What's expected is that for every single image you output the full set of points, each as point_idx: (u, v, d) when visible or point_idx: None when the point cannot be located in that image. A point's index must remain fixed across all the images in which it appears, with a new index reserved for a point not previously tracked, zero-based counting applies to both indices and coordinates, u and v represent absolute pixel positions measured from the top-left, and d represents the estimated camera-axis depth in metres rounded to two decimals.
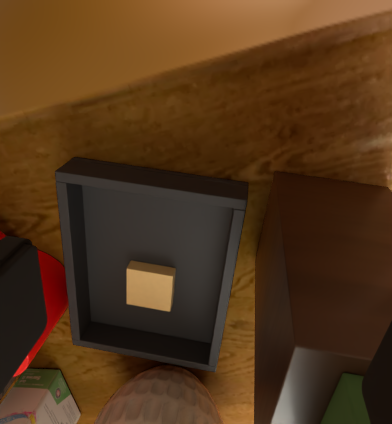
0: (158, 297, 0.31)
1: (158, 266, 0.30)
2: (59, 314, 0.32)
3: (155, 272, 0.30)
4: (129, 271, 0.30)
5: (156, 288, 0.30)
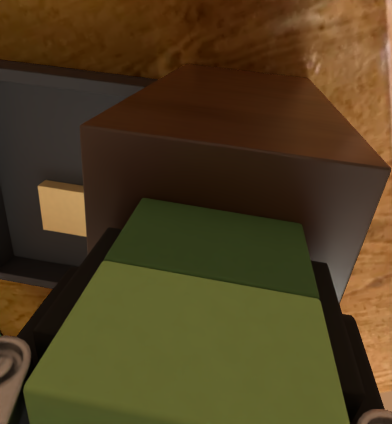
0: (75, 220, 0.28)
1: (74, 185, 0.28)
2: None
3: (68, 190, 0.27)
4: (40, 189, 0.27)
5: (71, 209, 0.28)
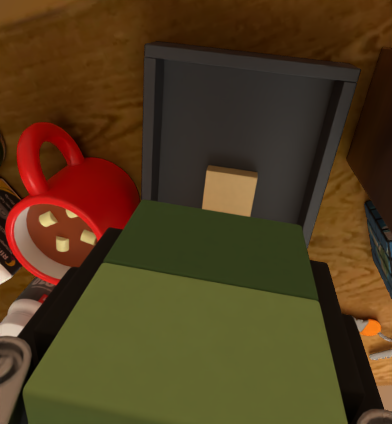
0: (238, 204, 0.29)
1: (239, 170, 0.28)
2: None
3: (237, 174, 0.28)
4: (209, 174, 0.28)
5: (237, 193, 0.28)
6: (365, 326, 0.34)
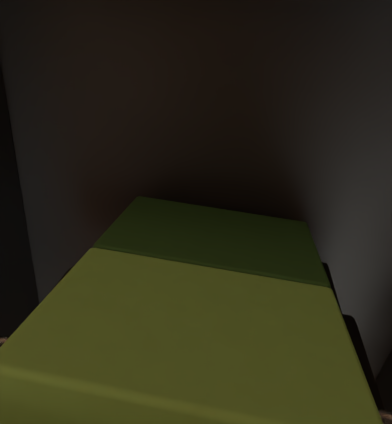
0: None
1: None
2: None
3: None
4: None
5: None
6: None
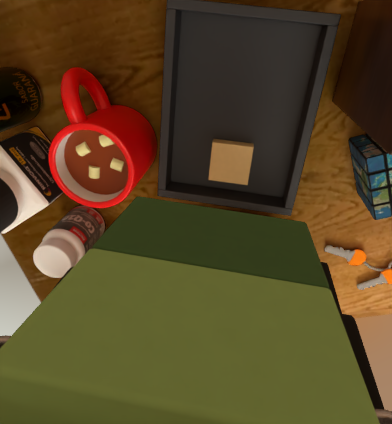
0: (238, 170, 0.35)
1: (238, 142, 0.35)
2: (149, 162, 0.35)
3: (237, 144, 0.34)
4: (214, 145, 0.34)
5: (237, 161, 0.35)
6: (352, 256, 0.39)
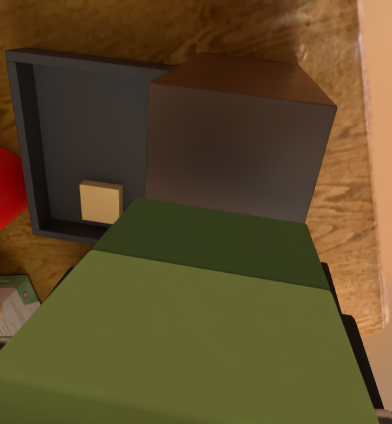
0: (108, 211, 0.36)
1: (107, 183, 0.35)
2: (19, 203, 0.35)
3: (103, 187, 0.34)
4: (82, 187, 0.35)
5: (106, 202, 0.35)
6: None
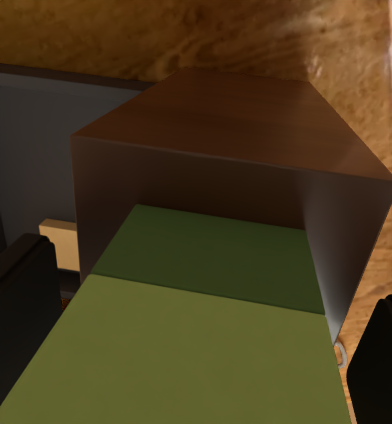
0: (76, 257, 0.29)
1: (74, 223, 0.29)
2: None
3: (68, 229, 0.28)
4: (42, 228, 0.28)
5: (72, 247, 0.29)
6: None
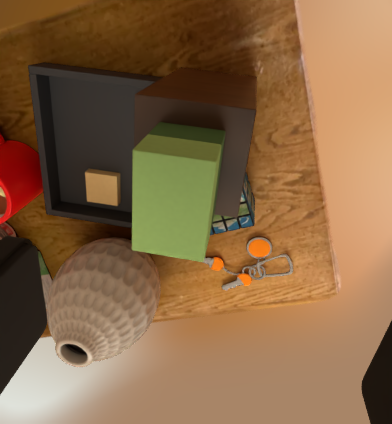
0: (108, 194, 0.44)
1: (107, 171, 0.43)
2: (35, 187, 0.43)
3: (104, 174, 0.43)
4: (87, 174, 0.43)
5: (106, 187, 0.43)
6: (213, 262, 0.48)
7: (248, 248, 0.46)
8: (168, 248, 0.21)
